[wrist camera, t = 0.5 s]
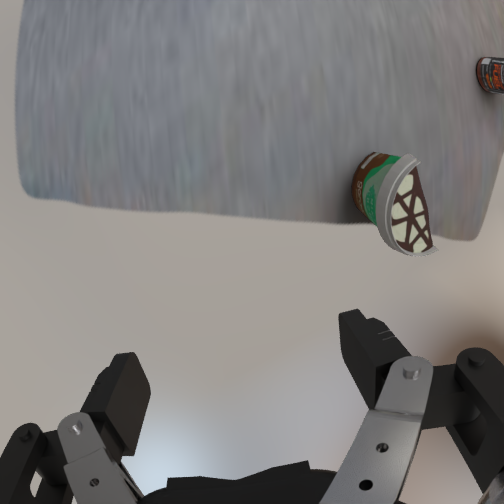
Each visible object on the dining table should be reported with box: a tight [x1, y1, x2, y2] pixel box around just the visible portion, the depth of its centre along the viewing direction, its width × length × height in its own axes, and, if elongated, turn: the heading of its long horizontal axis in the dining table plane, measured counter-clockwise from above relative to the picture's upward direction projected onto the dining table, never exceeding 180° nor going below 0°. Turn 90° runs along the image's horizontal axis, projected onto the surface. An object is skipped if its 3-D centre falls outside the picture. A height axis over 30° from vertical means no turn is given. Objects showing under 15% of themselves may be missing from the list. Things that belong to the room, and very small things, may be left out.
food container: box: [352, 152, 438, 256], centre depth 35 cm, size 12×6×10 cm, turn 27°
